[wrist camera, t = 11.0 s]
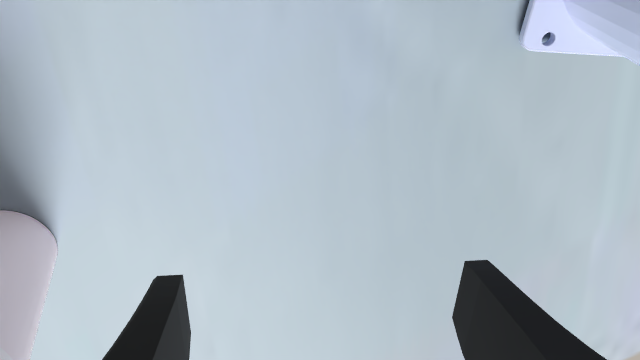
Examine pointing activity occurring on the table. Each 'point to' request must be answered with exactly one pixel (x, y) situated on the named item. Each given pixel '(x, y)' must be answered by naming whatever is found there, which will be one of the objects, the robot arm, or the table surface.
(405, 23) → the table surface
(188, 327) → the robot arm
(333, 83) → the table surface
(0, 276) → the smoothie
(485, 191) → the table surface
